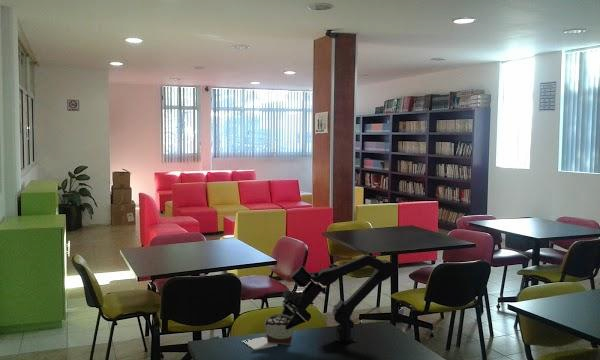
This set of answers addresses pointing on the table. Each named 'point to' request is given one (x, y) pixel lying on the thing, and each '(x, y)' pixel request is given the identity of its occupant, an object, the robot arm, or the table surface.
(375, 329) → the table surface
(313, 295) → the robot arm
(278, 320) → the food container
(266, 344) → the mat
